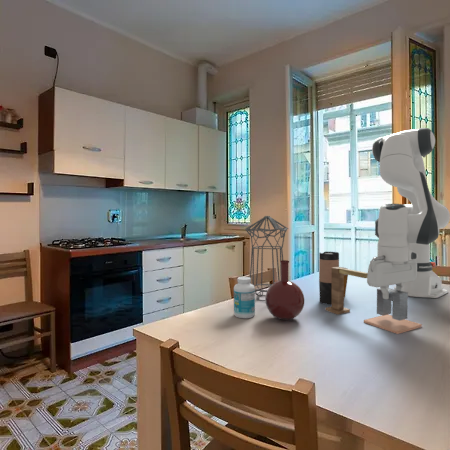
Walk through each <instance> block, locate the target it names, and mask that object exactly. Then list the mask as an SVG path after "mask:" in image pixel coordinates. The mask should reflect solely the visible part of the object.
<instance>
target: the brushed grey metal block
mask: <svg viewBox="0 0 450 450" xmlns="http://www.w3.org/2000/svg"><path fill="white" fill-rule="evenodd" d="M388 292H389V293H390V294H391V296H390V297H391V298H390V299H384V298H383V293H382V291H381V289H380V287H377V288H376V315H378V316H382V315H383V316H384V315H392V319H396V320H399V321H400V320H404V319H405V320H408V311H409V310H408V309H409V307H408V306H409V303H408V302H409V301H408V300H409V299H408V297H409V296H408V292H404V291H399V290H395V289H394V288H390V287H389V289H388Z"/></svg>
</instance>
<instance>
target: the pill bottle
mask: <svg viewBox="0 0 450 450" xmlns="http://www.w3.org/2000/svg"><path fill="white" fill-rule="evenodd" d="M250 282H251V283H250ZM254 285H255V284H254ZM254 285H253V284H252V277H251V278H250V276H239V277H237V283H236V284H235V285H234V286H233V315H234V316H235V318H239V319H251V318H253V317H255V316H256V315H255V314H256V294H255V289H256V288H255V287H256V286H255V287H254Z"/></svg>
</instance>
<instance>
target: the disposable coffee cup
mask: <svg viewBox="0 0 450 450" xmlns="http://www.w3.org/2000/svg"><path fill="white" fill-rule="evenodd" d="M340 267H341V268H344V269H349V268H348V267H344V266H340ZM348 277H349V275H346V274H344V298H346V292H347V285H348Z"/></svg>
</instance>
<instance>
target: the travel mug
mask: <svg viewBox="0 0 450 450" xmlns="http://www.w3.org/2000/svg"><path fill="white" fill-rule="evenodd" d="M318 254H319V257H318V260H319V262H318V263H319V264H318V267H319V269H318V270H319V271H318V286H319V287H318V289H319V290H318V291H319V303H321V304H322V305H326V306H327V305H328V306H332V267H340V253H339V252H337V251H324V252H319V253H318Z"/></svg>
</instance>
